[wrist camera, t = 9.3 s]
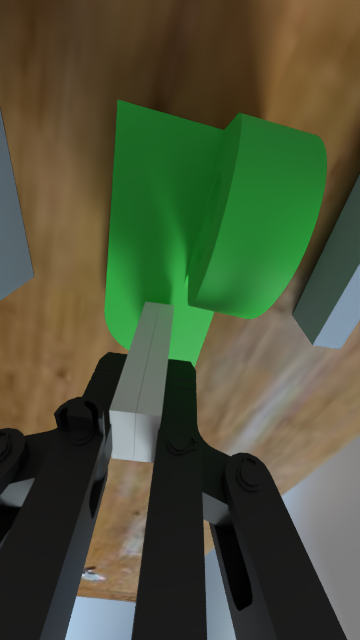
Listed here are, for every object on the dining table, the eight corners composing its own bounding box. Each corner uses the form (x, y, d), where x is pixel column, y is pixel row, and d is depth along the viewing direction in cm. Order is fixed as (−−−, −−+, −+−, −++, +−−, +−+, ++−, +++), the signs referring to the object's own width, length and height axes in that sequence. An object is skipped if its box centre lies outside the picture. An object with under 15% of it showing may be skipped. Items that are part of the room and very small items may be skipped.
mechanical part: (129, 110, 10) (11, 3, 4) (261, 148, 11) (376, 115, 4) (111, 330, 17) (56, 441, 10) (194, 347, 17) (195, 463, 10)
